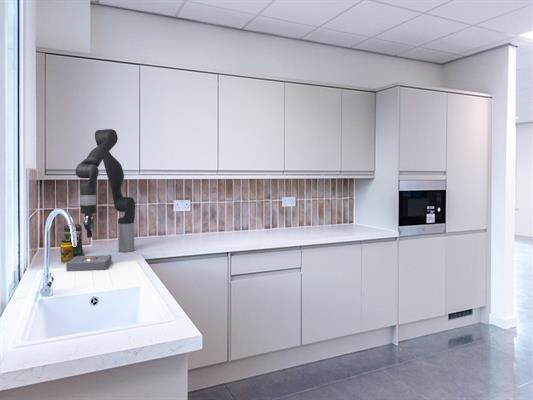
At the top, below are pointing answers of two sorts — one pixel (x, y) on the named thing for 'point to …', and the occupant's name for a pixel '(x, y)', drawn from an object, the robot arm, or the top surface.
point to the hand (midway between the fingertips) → (89, 237)
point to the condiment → (66, 251)
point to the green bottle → (78, 249)
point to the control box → (88, 263)
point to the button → (89, 258)
